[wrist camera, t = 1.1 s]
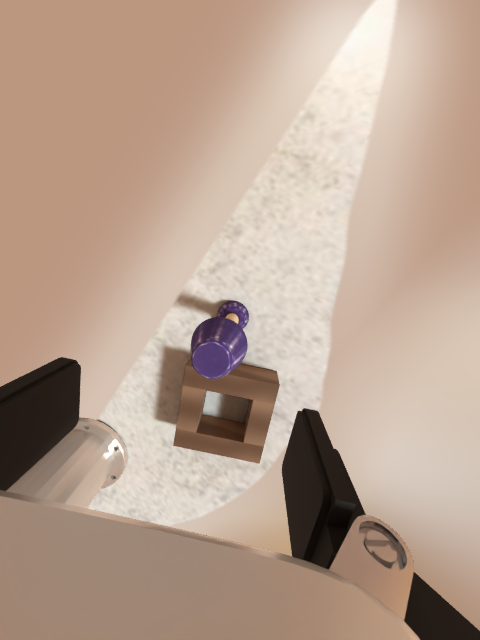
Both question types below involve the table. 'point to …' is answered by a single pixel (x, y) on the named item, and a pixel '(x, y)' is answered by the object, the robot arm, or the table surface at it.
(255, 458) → the socket block
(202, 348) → the toy lamp
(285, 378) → the table surface
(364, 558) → the robot arm
